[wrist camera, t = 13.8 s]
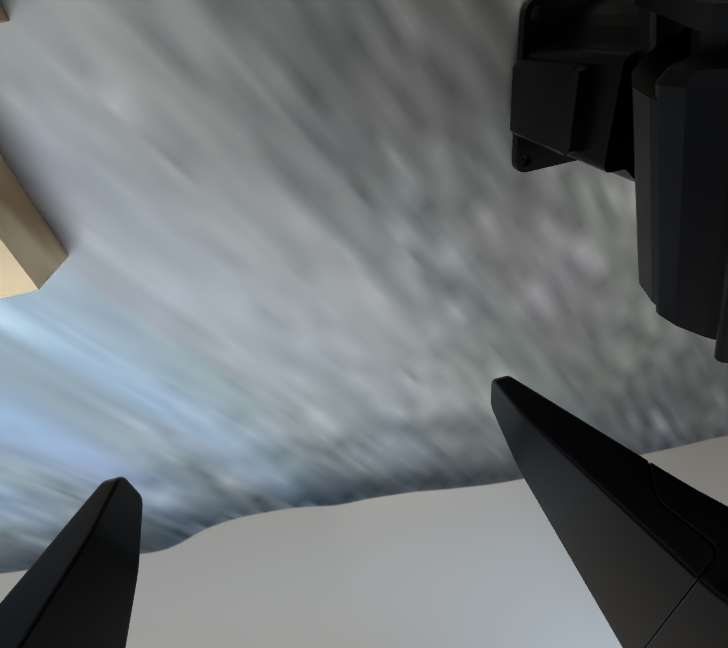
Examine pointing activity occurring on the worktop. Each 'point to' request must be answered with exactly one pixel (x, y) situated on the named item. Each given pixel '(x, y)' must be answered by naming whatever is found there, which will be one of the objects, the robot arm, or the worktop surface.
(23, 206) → the wooden pusher
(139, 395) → the worktop surface
